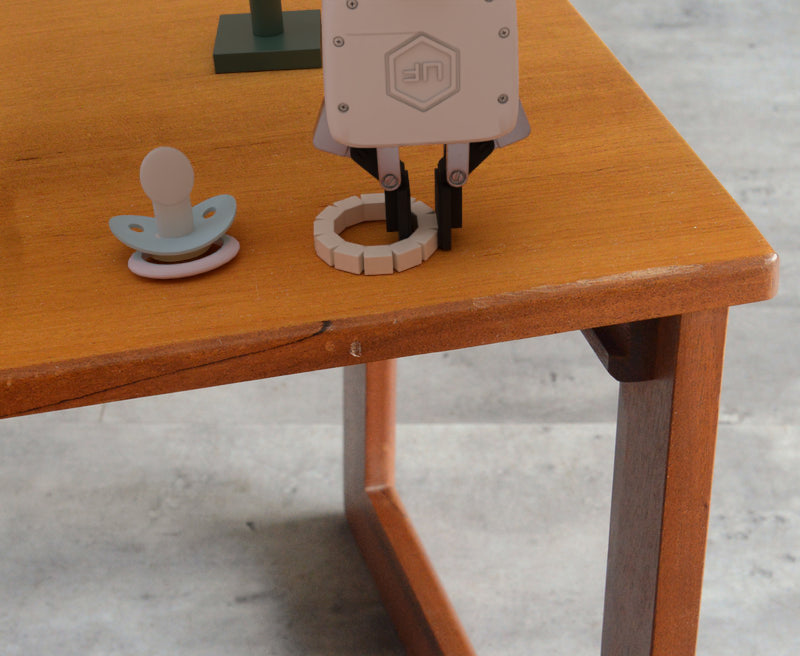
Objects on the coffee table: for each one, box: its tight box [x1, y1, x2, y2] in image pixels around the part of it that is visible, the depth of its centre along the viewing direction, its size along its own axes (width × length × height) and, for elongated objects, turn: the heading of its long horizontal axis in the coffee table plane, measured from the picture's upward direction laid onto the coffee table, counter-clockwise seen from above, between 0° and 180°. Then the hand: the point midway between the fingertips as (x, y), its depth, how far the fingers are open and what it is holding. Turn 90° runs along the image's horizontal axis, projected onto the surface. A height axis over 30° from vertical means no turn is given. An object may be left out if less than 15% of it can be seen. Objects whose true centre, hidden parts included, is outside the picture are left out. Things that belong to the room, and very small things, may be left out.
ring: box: [313, 192, 439, 276], centre depth 69 cm, size 7×7×1 cm
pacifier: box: [108, 146, 241, 280], centre depth 67 cm, size 7×6×6 cm
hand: (424, 236), depth 69 cm, fingers closed on ring, 1 cm apart
